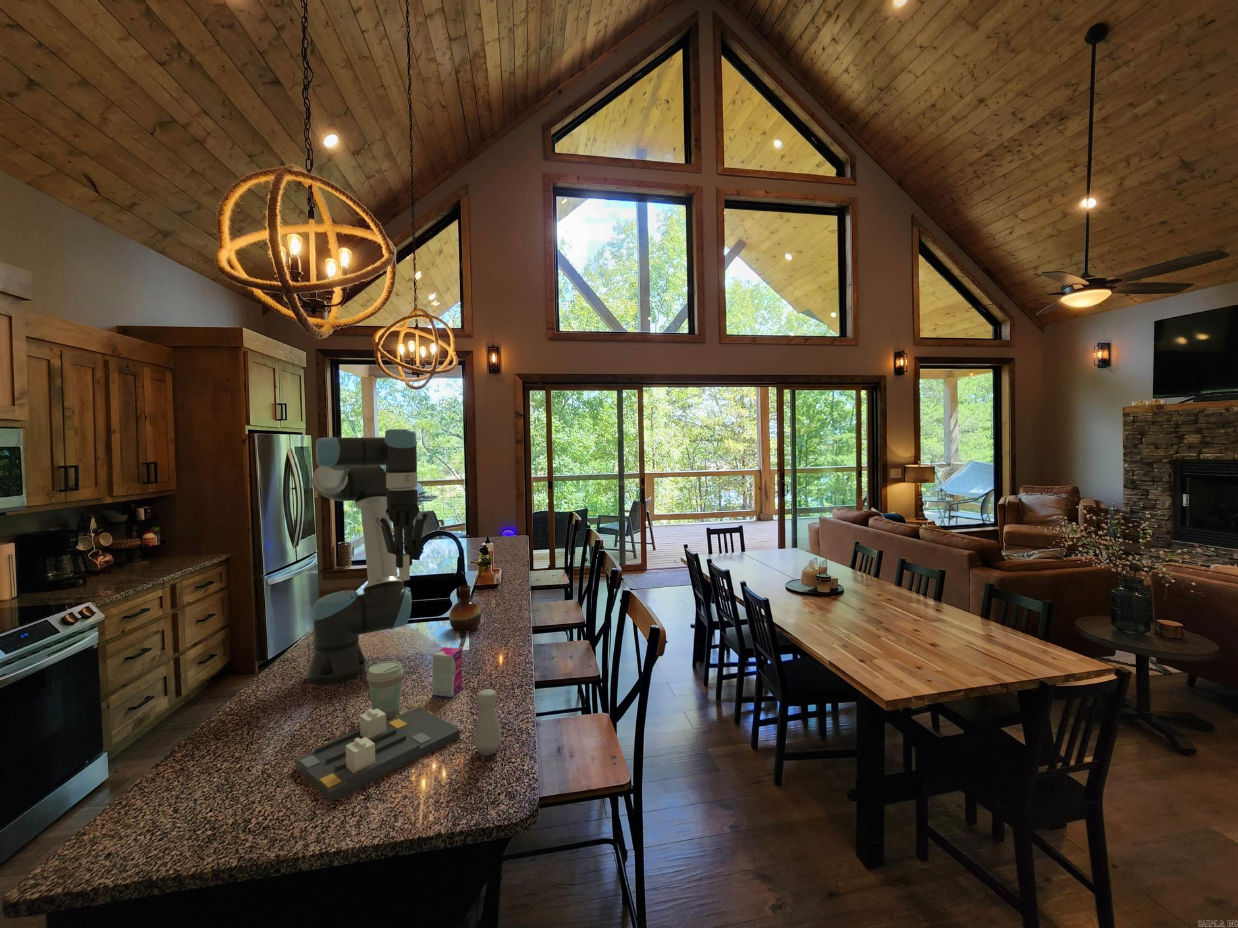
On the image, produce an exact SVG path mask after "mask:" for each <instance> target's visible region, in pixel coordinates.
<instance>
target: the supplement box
mask: <svg viewBox="0 0 1238 928" xmlns="http://www.w3.org/2000/svg"><path fill="white" fill-rule="evenodd" d="M462 661H463V649H462V648H457V647H454V648H453V647H448V646H447V647H445V646H443V647H442V648H440V649H439V650H437V651H436V652H435V653H433V654H432V697H433V698H441V699H453V698H454V696H455V695H457V694H458V693H460V691H462V690H463V686H462V685H463V673H462V672H463V667H462V665H463V663H462Z"/></svg>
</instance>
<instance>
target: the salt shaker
mask: <svg viewBox="0 0 1238 928" xmlns="http://www.w3.org/2000/svg"><path fill="white" fill-rule="evenodd" d="M497 700H498V695H497V692H496V691H495V690H494V689H491V688H485V689H482V690H480V691H479V692H477V694H476V703H477V705H478V706H479V708H478V714H477V721H476V726H475V733H474V739H473V744H474V746H475V748H476V750H477V753H478V754H479V755H481V756H484V757H485V756H490V755H493V754H496V752H497V750H498V749H499V746H500V744H501V741H502V732H501V729H500V724H499V718H498V715H497V708H496V705H495V704H496V702H497Z"/></svg>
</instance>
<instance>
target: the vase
mask: <svg viewBox="0 0 1238 928" xmlns="http://www.w3.org/2000/svg"><path fill="white" fill-rule="evenodd" d="M458 594H459V596H458V597H459V601H457V602H456V603H455V604H454V605H453V606H452V607H451V609H450V611H449V616H448V619H449V624H450V627H451V628H452V630H453V631H454V632H457V633H469V632H473V631H475V630H476V629H477V628H478V626H479V625H480V623H481V619H482V618H481V617H482V611H481V609H480V607H479V605H478V603H476V602H475V601H473V600H471V586H470V585H467V584H465V585H460V586H459V587H458Z"/></svg>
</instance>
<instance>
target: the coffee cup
mask: <svg viewBox="0 0 1238 928" xmlns="http://www.w3.org/2000/svg"><path fill="white" fill-rule="evenodd" d="M404 673H405V670H404V667H403V665H402V663H401V662H400V661H397V660H386V661H381V662H378V663H375V664H373V665H371V666H370V667H369V668H368V671H367V673H366V677H365V678H366V680H367V683H368V689H369V697H370V702H371V707H372V708H371V709H372V710H374V709H379V710H381V711H382V712H384V713H385V714H386V721H388V720H390V719H393V718H395V717H397V715H398V716H399V713H400V707H401V706H400V705H401V693H402V684H403V674H404Z"/></svg>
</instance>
